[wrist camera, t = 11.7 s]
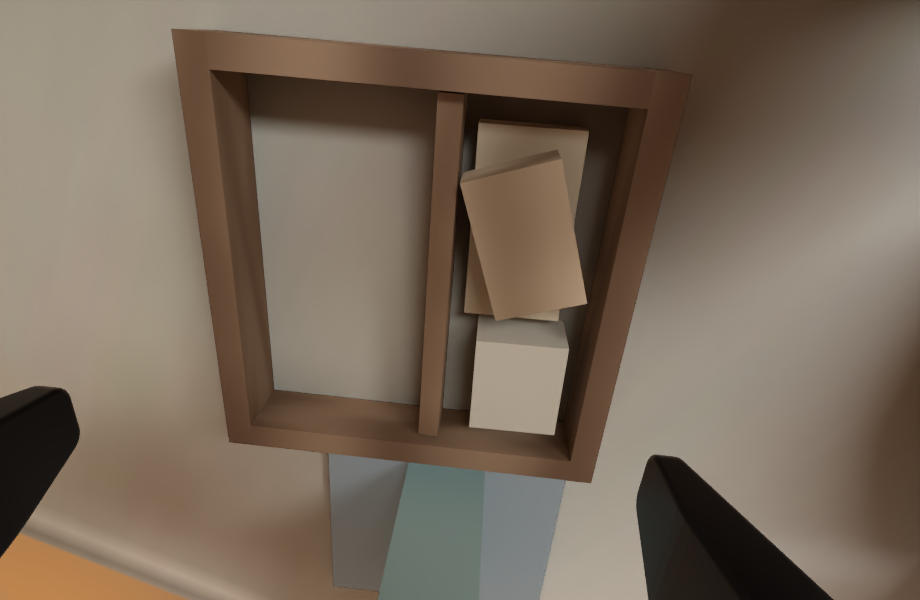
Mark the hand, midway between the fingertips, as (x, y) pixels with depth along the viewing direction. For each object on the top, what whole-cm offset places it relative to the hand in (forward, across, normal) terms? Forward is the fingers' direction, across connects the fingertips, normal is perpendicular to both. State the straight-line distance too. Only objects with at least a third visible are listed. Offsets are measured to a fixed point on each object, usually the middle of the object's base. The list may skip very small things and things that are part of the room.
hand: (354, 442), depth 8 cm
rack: (+13, 0, +2) cm, 13 cm away
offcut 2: (+12, -3, 0) cm, 12 cm away
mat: (+13, -1, +16) cm, 21 cm away
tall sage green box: (+13, -1, +16) cm, 20 cm away
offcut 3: (+13, -4, +6) cm, 15 cm away
